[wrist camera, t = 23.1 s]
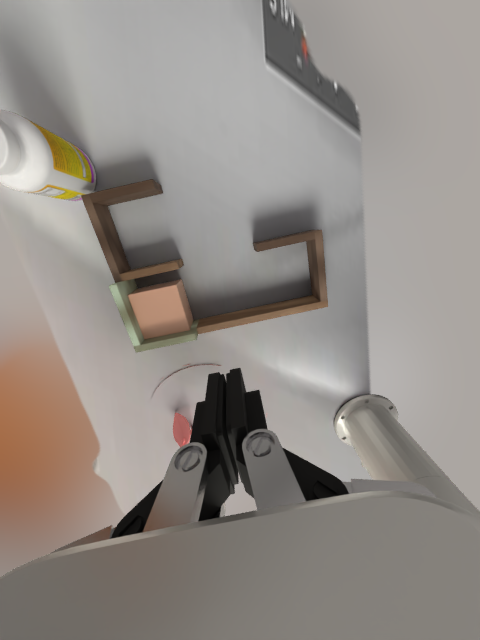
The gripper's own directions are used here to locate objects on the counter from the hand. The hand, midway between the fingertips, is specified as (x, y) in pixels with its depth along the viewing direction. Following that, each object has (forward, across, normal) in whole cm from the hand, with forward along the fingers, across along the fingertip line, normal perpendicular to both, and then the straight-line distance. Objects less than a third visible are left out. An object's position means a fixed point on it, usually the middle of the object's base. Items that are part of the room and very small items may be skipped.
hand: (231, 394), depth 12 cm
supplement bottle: (+27, +17, -19) cm, 37 cm away
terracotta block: (+27, +10, +1) cm, 29 cm away
